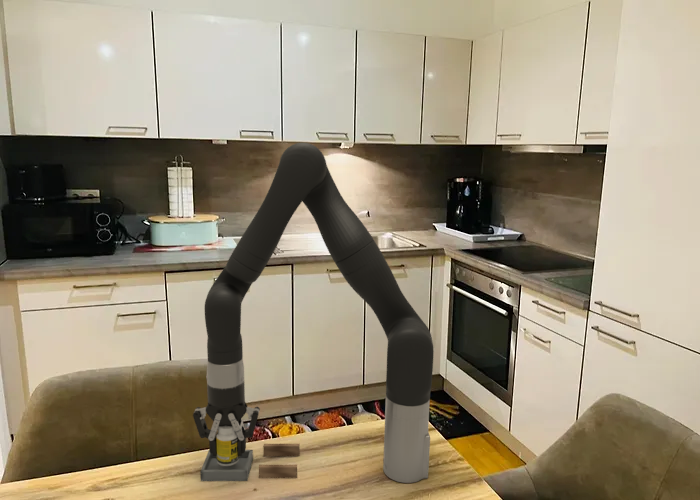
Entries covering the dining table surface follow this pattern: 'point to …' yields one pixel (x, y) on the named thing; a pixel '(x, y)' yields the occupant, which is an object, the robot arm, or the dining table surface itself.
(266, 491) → the dining table surface
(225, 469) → the tray
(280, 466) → the slot rails
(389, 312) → the robot arm
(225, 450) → the supplement bottle
